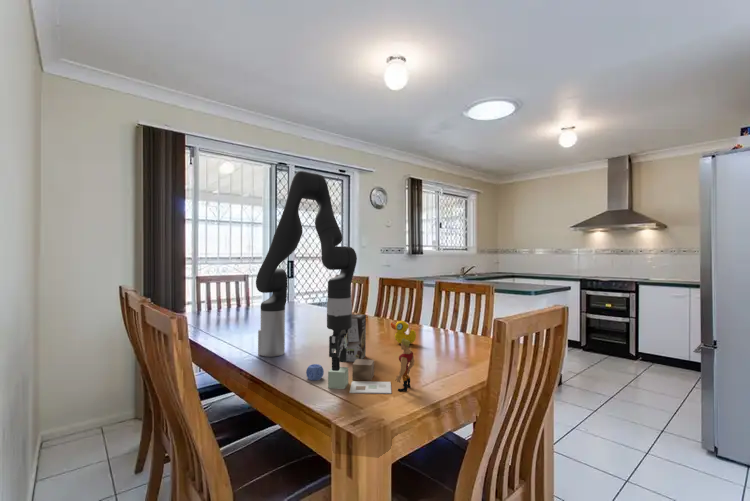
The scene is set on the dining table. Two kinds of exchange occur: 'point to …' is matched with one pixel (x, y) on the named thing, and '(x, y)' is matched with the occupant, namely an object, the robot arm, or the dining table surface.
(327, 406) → the dining table surface
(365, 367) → the base block
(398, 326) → the duckling
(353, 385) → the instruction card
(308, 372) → the decorative dice
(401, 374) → the action figure
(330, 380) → the sage cube
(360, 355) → the coffee box
